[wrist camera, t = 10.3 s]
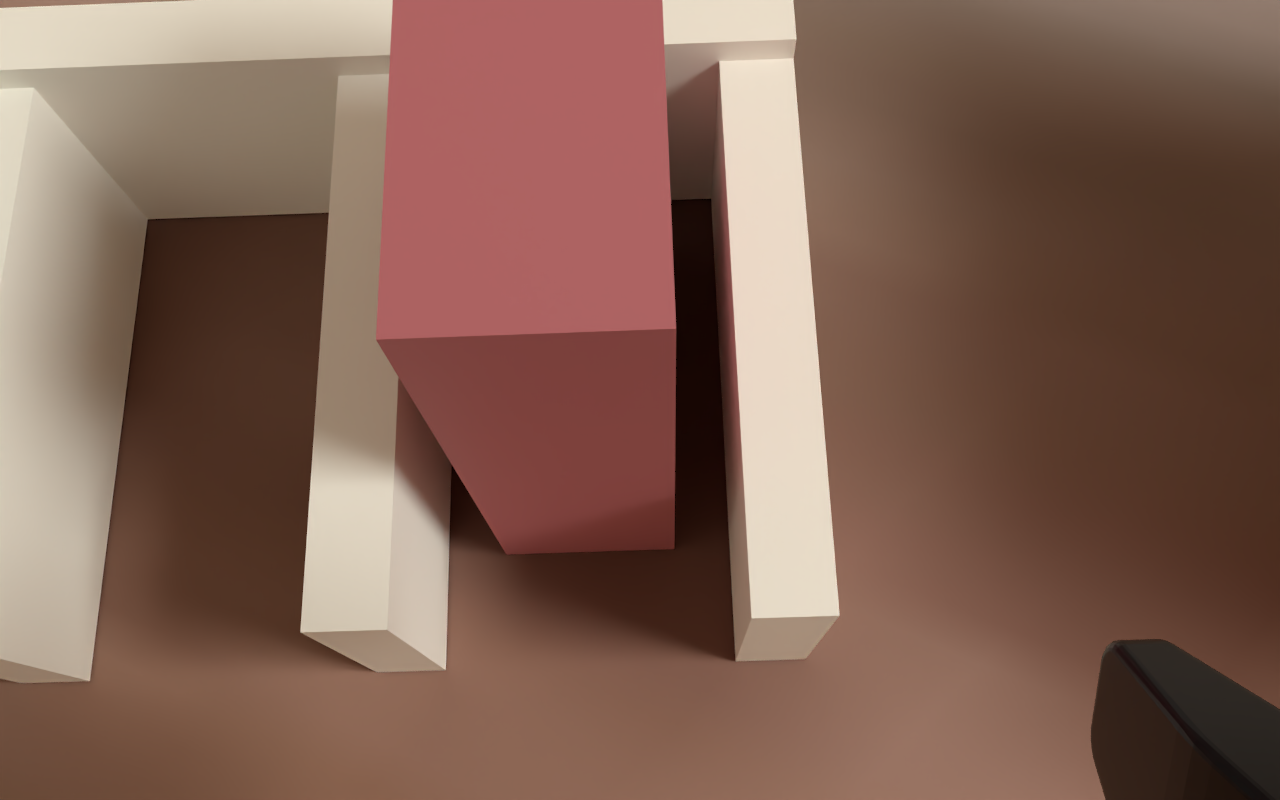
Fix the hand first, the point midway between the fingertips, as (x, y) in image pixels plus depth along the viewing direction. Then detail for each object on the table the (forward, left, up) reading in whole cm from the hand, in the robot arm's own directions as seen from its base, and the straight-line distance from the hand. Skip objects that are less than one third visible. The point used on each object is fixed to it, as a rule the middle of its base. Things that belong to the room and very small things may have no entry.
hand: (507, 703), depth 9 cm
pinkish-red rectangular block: (+4, +5, -12) cm, 14 cm away
